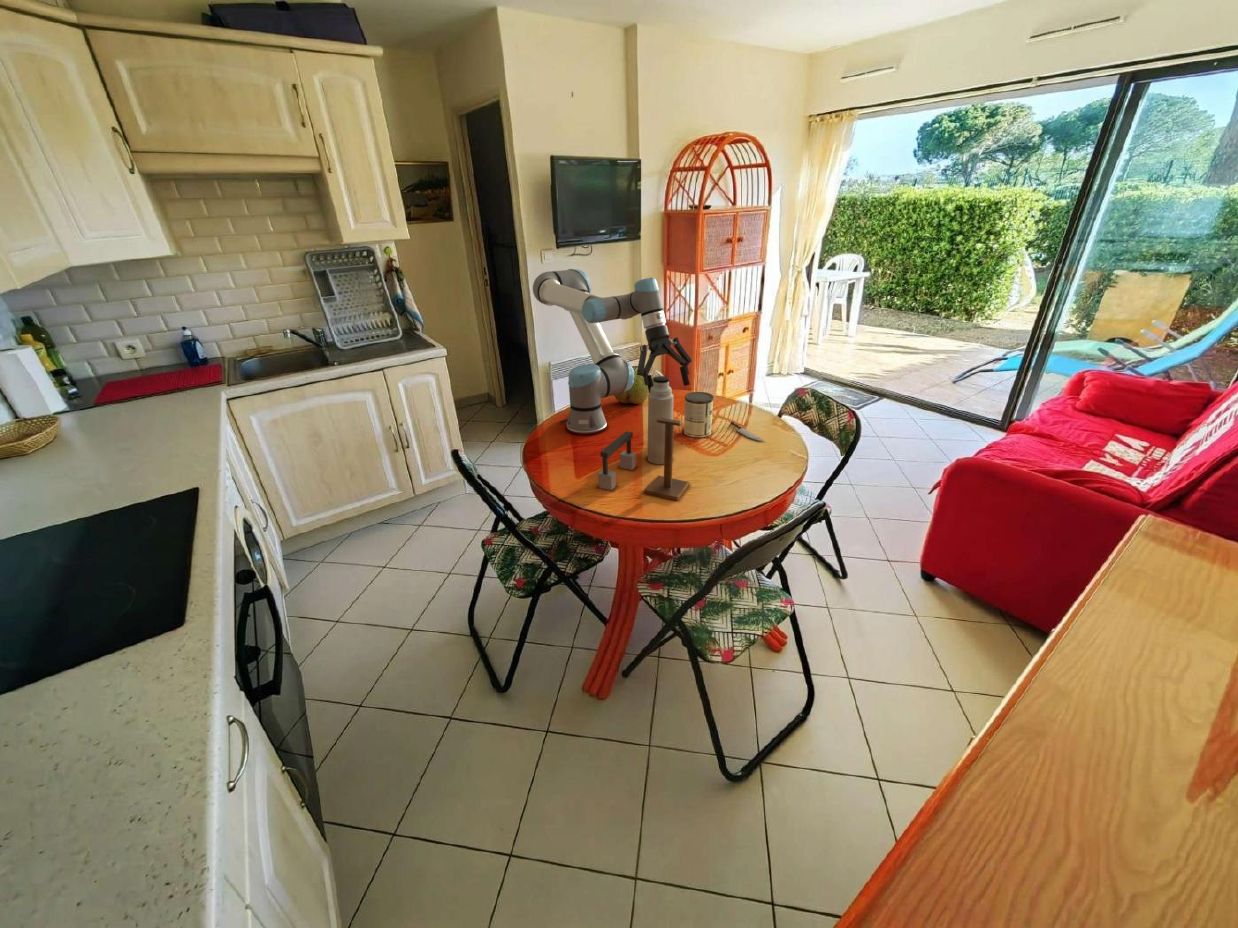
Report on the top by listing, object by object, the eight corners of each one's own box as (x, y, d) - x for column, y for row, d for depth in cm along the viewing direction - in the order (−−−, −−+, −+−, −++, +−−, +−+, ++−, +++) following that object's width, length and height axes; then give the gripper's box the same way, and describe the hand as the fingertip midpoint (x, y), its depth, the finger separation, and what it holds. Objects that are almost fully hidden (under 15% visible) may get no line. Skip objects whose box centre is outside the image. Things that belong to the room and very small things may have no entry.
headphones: (598, 487, 153) (597, 451, 148) (623, 464, 167) (623, 430, 162) (611, 490, 151) (610, 454, 146) (635, 466, 165) (635, 432, 160)
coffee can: (683, 426, 195) (684, 391, 189) (710, 427, 194) (712, 391, 188) (683, 437, 186) (685, 400, 179) (712, 438, 185) (714, 401, 178)
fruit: (615, 410, 212) (605, 375, 211) (621, 411, 226) (611, 378, 225) (653, 398, 209) (642, 363, 208) (656, 399, 223) (646, 366, 223)
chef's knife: (756, 444, 180) (763, 441, 181) (757, 441, 179) (764, 439, 180) (725, 425, 195) (732, 423, 196) (725, 422, 195) (732, 420, 196)
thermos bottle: (651, 452, 174) (652, 373, 162) (674, 455, 172) (676, 375, 160) (644, 462, 168) (645, 380, 155) (668, 465, 165) (670, 382, 153)
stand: (645, 493, 149) (645, 423, 140) (658, 478, 157) (659, 412, 148) (677, 500, 145) (680, 429, 136) (689, 485, 153) (692, 417, 144)
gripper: (627, 332, 160) (642, 397, 164) (692, 318, 170) (706, 380, 173) (617, 336, 167) (632, 399, 171) (681, 322, 177) (694, 382, 180)
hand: (669, 390), depth 172 cm, fingers open, 13 cm apart
